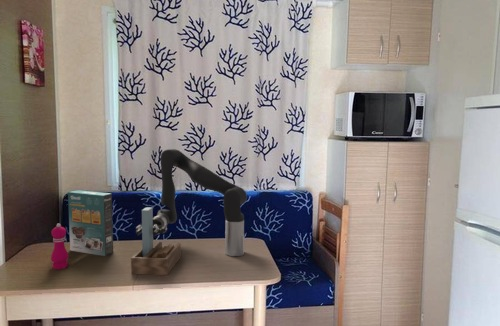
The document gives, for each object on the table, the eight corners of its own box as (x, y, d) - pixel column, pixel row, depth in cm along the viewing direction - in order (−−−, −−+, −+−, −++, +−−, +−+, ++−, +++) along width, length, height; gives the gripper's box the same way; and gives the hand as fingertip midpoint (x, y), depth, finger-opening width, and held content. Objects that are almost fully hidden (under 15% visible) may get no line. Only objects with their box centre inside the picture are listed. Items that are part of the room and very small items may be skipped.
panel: (153, 261, 191) (152, 207, 188) (149, 266, 185) (148, 210, 182) (147, 261, 191) (146, 207, 189) (142, 266, 185) (141, 210, 183)
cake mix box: (113, 252, 204) (111, 193, 201) (105, 256, 198) (103, 195, 195) (79, 247, 212) (77, 190, 208) (70, 250, 206) (68, 192, 203)
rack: (180, 256, 198) (180, 242, 197) (167, 275, 175) (166, 259, 174) (149, 255, 199) (148, 241, 199) (131, 273, 176) (131, 257, 176)
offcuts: (174, 260, 194) (174, 243, 193) (166, 270, 181) (166, 252, 180) (160, 259, 194) (160, 243, 194) (152, 269, 182) (151, 252, 181)
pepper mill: (65, 262, 189) (63, 220, 186) (71, 266, 183) (69, 223, 181) (48, 266, 184) (47, 223, 181) (54, 270, 178) (52, 226, 176)
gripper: (143, 216, 201) (130, 225, 185) (171, 217, 200) (161, 226, 183) (143, 231, 202) (130, 241, 185) (171, 232, 201) (161, 242, 184)
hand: (146, 233), depth 184 cm, fingers open, 7 cm apart
